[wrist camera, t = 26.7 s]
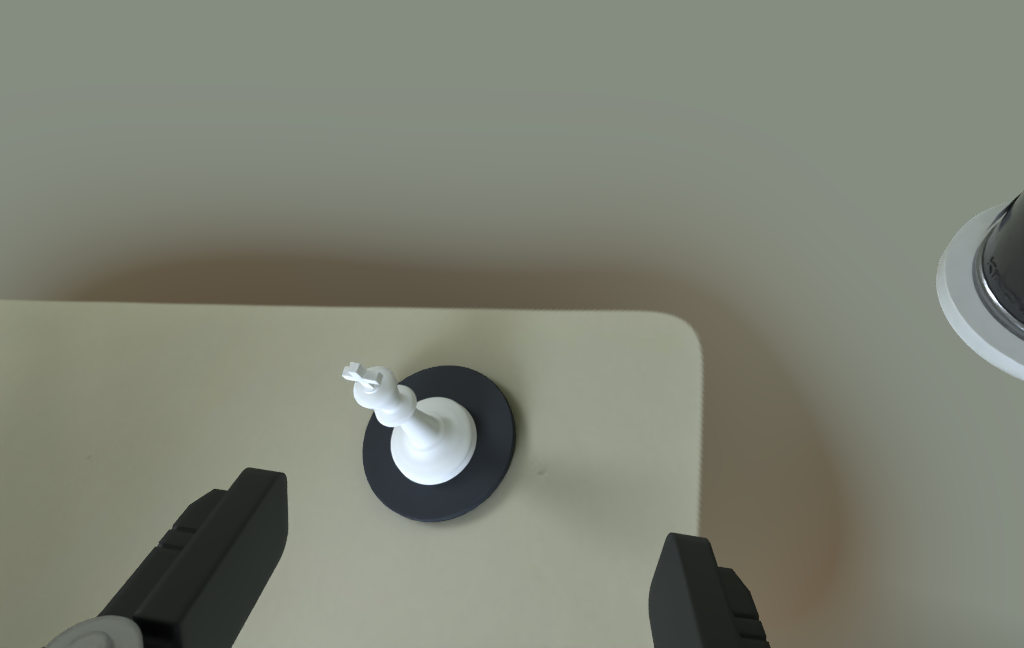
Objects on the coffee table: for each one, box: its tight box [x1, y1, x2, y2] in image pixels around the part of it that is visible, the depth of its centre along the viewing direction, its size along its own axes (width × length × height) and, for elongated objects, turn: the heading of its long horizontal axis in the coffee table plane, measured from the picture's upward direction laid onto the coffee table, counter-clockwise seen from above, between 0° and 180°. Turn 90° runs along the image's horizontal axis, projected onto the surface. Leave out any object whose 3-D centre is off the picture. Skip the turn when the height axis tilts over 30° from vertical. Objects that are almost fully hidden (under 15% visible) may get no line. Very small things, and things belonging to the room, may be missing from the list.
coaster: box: [363, 366, 516, 522], centre depth 33 cm, size 9×9×1 cm
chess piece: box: [342, 362, 477, 485], centre depth 29 cm, size 5×5×10 cm
